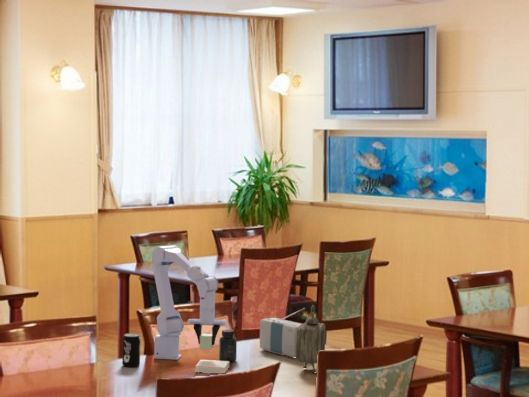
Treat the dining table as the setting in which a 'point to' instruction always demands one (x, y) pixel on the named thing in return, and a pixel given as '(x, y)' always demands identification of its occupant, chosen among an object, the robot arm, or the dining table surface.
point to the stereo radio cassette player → (279, 335)
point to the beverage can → (131, 350)
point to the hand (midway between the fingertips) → (206, 344)
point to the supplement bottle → (227, 346)
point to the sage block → (206, 341)
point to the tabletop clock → (310, 340)
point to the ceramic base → (212, 366)
